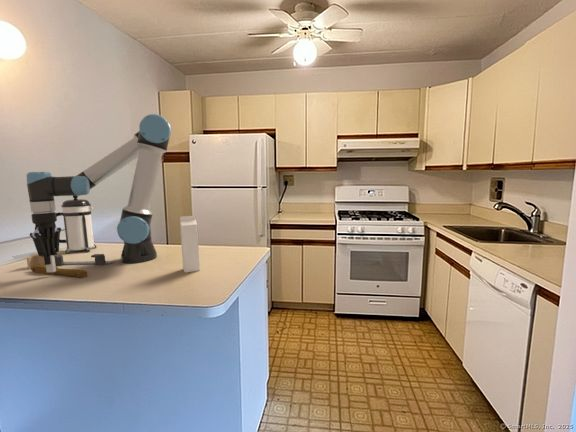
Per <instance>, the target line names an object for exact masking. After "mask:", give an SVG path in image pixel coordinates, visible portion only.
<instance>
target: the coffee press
mask: <svg viewBox="0 0 576 432" xmlns="http://www.w3.org/2000/svg"><path fill="white" fill-rule="evenodd" d="M72 198H73V199H67V200H64V201H63V202H62V204H61V209H62V212H61V211H60V212H55V213H56V217H60V216H62V217H63V225H64V233H65V239H60V240H59V244H66V249H65V251H64V253H65V254H67V255H69V254H70V253H71V252H73V251H82V250H83V251H85V253H90V251H91V248H93V249H96V248H97V245H96V244H95V241H94V240H95V239H94V230H93V220H92V210H94V207H93V205H91V203H90V201H89V200H88V199H82V198H81V199H80V198H79V196H77V195H75V196H72ZM68 250H69V251H68Z"/></svg>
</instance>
